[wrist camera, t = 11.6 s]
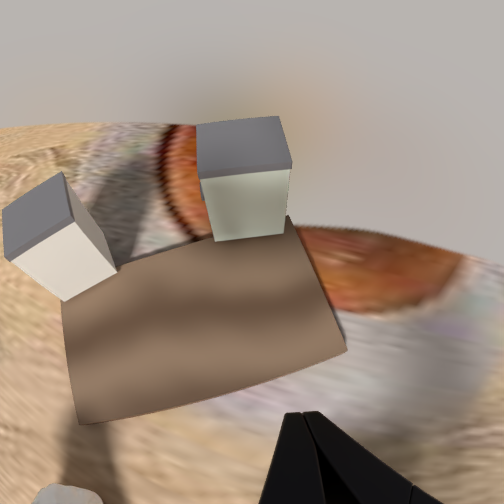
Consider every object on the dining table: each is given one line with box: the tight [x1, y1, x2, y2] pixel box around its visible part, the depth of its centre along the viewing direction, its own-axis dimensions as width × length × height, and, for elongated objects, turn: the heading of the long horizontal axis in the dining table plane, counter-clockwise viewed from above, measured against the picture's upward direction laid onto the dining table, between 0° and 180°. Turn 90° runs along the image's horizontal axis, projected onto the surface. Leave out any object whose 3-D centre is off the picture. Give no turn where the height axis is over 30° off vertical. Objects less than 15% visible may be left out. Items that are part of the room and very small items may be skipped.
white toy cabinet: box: [2, 171, 118, 302], centre depth 19 cm, size 4×5×8 cm
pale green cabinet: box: [196, 116, 292, 242], centre depth 21 cm, size 4×5×8 cm
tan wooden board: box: [61, 215, 348, 425], centre depth 22 cm, size 11×19×1 cm, turn 108°
